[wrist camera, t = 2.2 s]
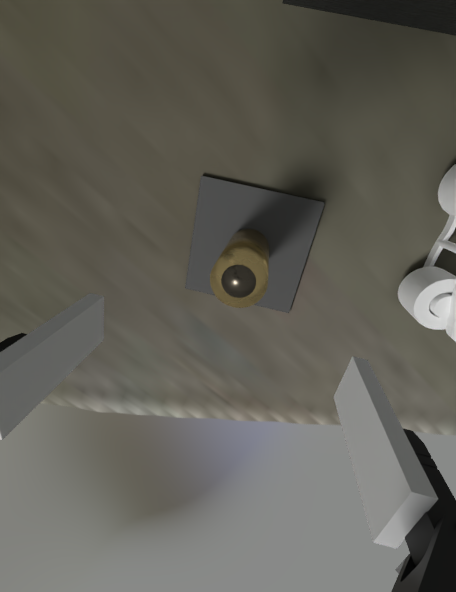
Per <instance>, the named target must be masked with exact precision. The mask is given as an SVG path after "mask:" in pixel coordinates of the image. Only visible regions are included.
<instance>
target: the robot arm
mask: <svg viewBox="0 0 456 592" xmlns="http://www.w3.org/2000/svg"><path fill="white" fill-rule="evenodd" d="M103 340H104V296H100V295H96V294H92V293H89V294H88V295H86V296H85V297H83V298H82V299H80V300H79V301H77V302H76V303H74V304H73V305H71V306H70V307H68V308H67V309H65V310H64V311H62V312H61V313H59V314H58V315H56V316H55V317H53V318H52V319H50V320H49V321H47V322H46V323H44V324H42V325H41V326H39V327H38V328H36V329H35V330H33V331H32V332H30V333H29V334H23V333H21V334H18V335H15V336H12V337H10V338H7V339H5V340H4V341H2V342H1V343H0V440H3V439H4V438H5V437H6V436H7V435H8V434H9V433H10V432H11V431H12V430H13V429H14V428H15V427H16V426H17V425H18V424H19V423H20V422H21V421H22V420H23V419H24V418H25V417H26V416H27V415H28V414H29V413H30V412H31V411H32V410H33V409H34V408H35V407H36V406H37V405H38V404H39V403H40V402H41V401H42V400H43V399H44V398H45V397H46V396H47V395H48V394H49V393H50V392H51V391H52V390H53V389H54V388H55V387H56V386H57V385H58V384H59V383H60V382H61V381H62V380H63V379H64V378H65V377H67V376H68V375H69V374H70V373H71V372H72V371H73V370H74V369H75V368H76V367H77V366H78V365H79V364H80V363H81V362H82V361H83V360H84V359H85V358H86V357H87V356H88V355H89V354H90V353H91V352H92V351H93V350H94V349H95V348H96V347H97V346H98V345H99V344H100V343H101V342H102V341H103ZM334 400H335V404H336V408H337V411H338V415H339V419H340V422H341V426H342V430H343V433H344V437H345V441H346V444H347V448H348V452H349V455H350V459H351V463H352V466H353V470H354V474H355V477H356V481H357V485H358V488H359V492H360V496H361V499H362V503H363V506H364V510H365V514H366V517H367V521H368V524H369V528H370V532H371V536H372V540H373V542H374V543H378V544H381V545H385V546H389V547H392V548H396V549H397V548H398V546H399V545H400V544H401V543H402V542H403V540H404V539H405V540H406V542H407V545H408V548H409V551H410V554H409V555H408V556H407V557H406V559H405V560H404V561H403V562H402V563H401V564H400V565H399V566H398V568H397V569H396V571H397V572H398V573H399V575H398V578H397V580H396V582H395V585H394V587H393V589H392V592H456V500H455V498H454V496H453V495H452V493H451V491H450V489H449V487H448V486H447V484H446V482H445V480H444V479H443V477H442V475H441V473H440V471H439V470H437V466H436V464H435V462H434V461H433V459H431V455H430V453H429V452H428V450H427V448H426V446H425V445H424V443H423V442H422V441H421V440H420V439H419V438H418V436H417V435H416V434H415V433H414V432H413V431H411V430H407V429H403V428H402V426H401V424H400V422H399V420H398V419H397V417H396V415H395V413H394V411H393V409H392V407H391V405H390V403H389V401H388V399H387V397H386V395H385V393H384V391H383V389H382V387H381V385H380V383H379V381H378V379H377V377H376V375H375V373H374V371H373V369H372V367H371V365H370V363H369V361H368V360H366V359H362V358H357V357H353V356H352V358H351V361H350V363H349V365H348V367H347V369H346V371H345V374H344V376H343V378H342V380H341V382H340V384H339V387H338V389H337V391H336V393H335V395H334Z"/></svg>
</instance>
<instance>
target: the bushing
mask: <svg viewBox="0 0 456 592" xmlns="http://www.w3.org/2000/svg"><path fill="white" fill-rule="evenodd" d="M268 268H269V244H268V241H267V239H266V238H265V236H264V235H263V234H262V233H261V232H259V231H257V230H254V229H243V230H240V231H238V232H236V233H235V234H234V235H233V236H232V237H231V239H230V241H229V242H228V244H227V245H226V247H225V249H224V250H223V252H222V253H221V255H220V257H219V258H218V260H217V262H216V263H215V265H214V266H213V268H212V271H211V274H210V284H211V288H212V290H213V292H214V294H215V296H216V297H217V298H218V299H219V300H220V301H222V302H223V303H225V304H226V305H229V306H232V307H237V308H243V307H248V306H251V305H253V304H255V303H257V302H258V301H259V300H260V299H261V298H262V297H263V296H264V294H265V292H266V290H267V286H268Z"/></svg>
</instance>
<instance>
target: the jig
mask: <svg viewBox="0 0 456 592" xmlns="http://www.w3.org/2000/svg"><path fill="white" fill-rule="evenodd" d="M283 3H284V4H290V5H295V6H300V7H306V8H311V9H317V10H322V11H327V12H333V13H338V14H344V15H349V16H354V17H360V18H365V19H371V20H376V21H381V22H387V23H392V24H398V25H403V26H408V27H414V28H419V29H425V30H430V31H435V32H441V33H446V34H452V35H456V0H283Z"/></svg>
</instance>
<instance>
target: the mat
mask: <svg viewBox="0 0 456 592" xmlns="http://www.w3.org/2000/svg"><path fill="white" fill-rule="evenodd" d="M324 204H325V203H324V202H320V201H316V200H311V199H307V198H302V197H297V196H293V195H288V194H284V193H279V192H275V191H270V190H266V189H261V188H256V187H252V186H247V185H243V184H238V183H234V182H229V181H224V180H220V179H215V178H211V177H206V176H201V181H200V188H199V195H198V202H197V209H196V216H195V223H194V230H193V237H192V244H191V251H190V258H189V265H188V272H187V279H186V286H185V288H187V289H191V290H195V291H199V292H203V293H207V294H212V295H215V294H214V292H213V290H212V288H211V284H210V274H211V271H212V268H213V266H214V265H215V263H216V262H217V260H218V258H219V257H220V255H221V253H222V252H223V250H224V249H225V247H226V245H227V244H228V242H229V241H230V239H231V237H232V236H233V235H234V234H235V233H236V232H238V231H240V230H243V229H254V230H257V231H259V232H261V233H262V234H263V235H264V236H265V238H266V239H267V241H268V244H269V268H268V286H267V290H266V292H265V294H264V296H263V297H262V298H261V299H260V300H259V301H258V302H257V303H255V304H253V305H257V306H261V307H266V308H270V309H274V310H278V311H282V312H286V313H289V311H290V308H291V305H292V302H293V299H294V296H295V293H296V290H297V287H298V284H299V281H300V277H301V274H302V271H303V268H304V265H305V262H306V259H307V256H308V253H309V250H310V247H311V244H312V241H313V238H314V235H315V232H316V228H317V225H318V222H319V219H320V216H321V213H322V210H323V207H324Z"/></svg>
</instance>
